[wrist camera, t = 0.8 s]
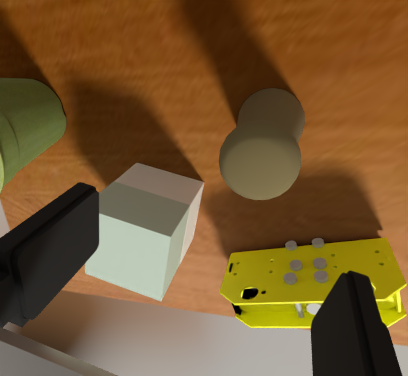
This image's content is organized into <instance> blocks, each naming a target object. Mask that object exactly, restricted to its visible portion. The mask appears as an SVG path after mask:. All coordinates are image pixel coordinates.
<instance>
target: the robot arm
mask: <svg viewBox="0 0 408 376" xmlns="http://www.w3.org/2000/svg"><path fill="white" fill-rule="evenodd" d="M98 246H99V193H98V192H97V191H96V188H95V187H94V186H91V185H88V184H85V183H82V182H79V183H77V184H76V185H75V186H73V187H72V188H70V189H69V190H68V191H66V192H65V193H63V194H62V195H60V196H59V197H58V198H56V199H55V200H53V201H52V202H51V203H49V204H48V205H46V206H45V207H43V208H42V209H41V210H39V211H38V212H36V213H35V214H34V215H32V216H31V217H29V218H28V219H27V220H25V221H24V222H22V223H21V224H19V225H18V226H17V227H15V228H14V229H12V230H11V231H10V232H8V233H7V234H5V235H4V236H3V237H1V238H0V376H117V375H115V374H112V373H110V372H108V371H105V370H103V369H101V368H98V367H96V366H94V365H91V364H89V363H86V362H84V361H82V360H79V359H77V358H74V357H72V356H70V355H67V354H65V353H62V352H60V351H58V350H55V349H53V348H50V347H48V346H45V345H43V344H41V343H38V342H36V341H34V340H31V339H28V338H26V337H24V336H21V335H19V334H16V333H13V332H11V331H8V330H6V329H3V327H4V326H5V325H6V324H7V323H8V322H11V323H14V324H16V325H18V326H21V327H23V326H24V325H25V324H26V323H27V322H28V321H29V319H31V320H32V319H34V318H36V317H37V316H38V315H39V314H40V313H41V311H42V310H43V309H44V308H45V307H46V306H47V305H48V304H49V303H50V301H51V300H52V299H53V298H54V297H55V296H56V295H57V294H58V293H59V292H60V290H61V289H62V288H63V287H64V286H65V285H66V284H67V283H68V282H69V280H70V279H71V278H72V277H73V276H74V275H75V274H76V273H77V272H78V270H79V269H80V268H81V267H82V266H83V265H84V264H85V263H86V262H87V260H88V259H89V258H90V257H91V256H92V255H93V254H94V253H95V251H96V250H97V248H98ZM311 344H312V365H313V376H402V373H401V370H400V367H399V363H398V360H397V357H396V353H395V350H394V347H393V344H392V340H391V337H390V334H389V331H388V328H387V326H386V325H385V324H384V323H383V322H382V319H381V316H380V313H379V309H378V306H377V302H376V299H375V295H374V292H373V289H372V285H371V282H370V279H369V277H368V276H366V275H363V274H360V273H357V272H354V271H348V272H347V273H341V275H340V276H339V278H338V279H337V281H336V283H335V284H334V286H333V287H332V289H331V291H330V292H329V294H328V296H327V297H326V299H325V300H324V302H323V304H322V305H321V307H320V308H319V310H318V312H317V313H316V315H315V317H314V318H313V320H312V324H311Z"/></svg>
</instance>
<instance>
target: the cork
mask: <svg viewBox="0 0 408 376" xmlns="http://www.w3.org/2000/svg"><path fill="white" fill-rule="evenodd" d="M304 125H305V115H304V111H303V108H302V106H301V103H300V102H299V101H298V100H297V99H296V97H295V96H294V95H292V94H291V93H289V92H287V91H285V90H283V89H277V88H268V89H261V90H259V91H258V92H256V93H254V94H252V95H251V96H250V97H249V98H248V99H247V100H246V101H244V103H243V105H242V107H241V109H240V111H239V115H238V121H237V127H236V128H235V129H234V130H233V131H232V132H231V133H230V134H229V135H228V136H227V137H226V139H225V141H224V143H223V145H222V147H221V149H220V156H219V166H220V171H221V175H222V177H223V179H224V180H225V182H226V184H227V185H228V186H229V187H230V188H231V189H232V190H233V191H234V192H236V193H238V194H239V195H241V196H243V197H245V198H249V199H253V200H268V199H271V198H274V197H277V196H280V195H281V194H283V193H284V192H285V191H287V190H288V189H289V188H290V187H291V185H292V184H293V183H294V181H295V180H296V179H297V177H298V174H299V171H300V168H301V153H300V148H299V146H298V142H299V139H300V137H301V134H302V132H303V128H304Z"/></svg>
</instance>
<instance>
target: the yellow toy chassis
mask: <svg viewBox="0 0 408 376" xmlns="http://www.w3.org/2000/svg"><path fill="white" fill-rule="evenodd" d="M285 246H286V248H276V249H266V250H256V251H246V252H236V253H231V255H230V258H229V262H228V265H227V268H226V272H225V275H224V279H223V282H222V285H221V289H220V294H221V295H223V296H224V297H225V298H226V299H228V300H229V301H230V302H231V303H232V305H233V308H234V310H235V313H236V314H235V317H236V318H237V319H239V320H240V321H242V322H243V323H244V324H246V325H247V326H249V327H250V328H311V324H312V320H313V318H314V317H315V315H316V313H317V312H318V310H319V308H320V307H321V305H322V304H323V302H324V300H325V299H326V297H327V296H328V294H329V292H330V291H331V289H332V287H333V286H334V284H335V283H336V281H337V279H338V278H339V276H340V275H341V273H347V272H348V271H354V272H357V273H360V274H363V275H366V276H368V277H369V279H370V282H371V285H372V289H373V292H374V295H375V299H376V302H377V306H378V309H379V313H380V316H381V319H382V322H383V323H384V324H385V325H386V326H387V328H388V327H389V326H391V325H393V324H394V323H396V322H397V321H399V320H400V319H402V318H404V317H405V316H406V312H405V309H404V307H403V304H402V301H401V299H400V291H399V290H401V289H402V288H404V287H405V286H406V282H405V279H404V277H403V275H402V272H401V270H400V268H399V265H398V263H397V261H396V258H395V256H394V254H393V251H392V249H391V247H390V244H389V242H388V240H387V238H377V239H367V240H357V241H347V242H337V243H327V244H324V241H323V239H321V238H315V239H313V240H312V245H307V246H297V244H296V242H295V241H288V242H287V243H286V244H285Z"/></svg>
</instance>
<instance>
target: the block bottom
mask: <svg viewBox="0 0 408 376" xmlns="http://www.w3.org/2000/svg"><path fill="white" fill-rule="evenodd" d="M115 182H118V183H121V184H124V185H127V186H131V187H134V188H137V189H140V190H143V191H147V192H150V193H153V194H156V195H159V196H163V197H166V198H169V199H172V200H175V201H179V202H182V203H185V204H188V205H190V209H189V215H188V220H187V226H186V231H185V236H184V242H183V247H182V253H181V258H180V263H181V261H182V259H183V257H184V255H185V253H186V251H187V249H188V247H189V245H190V243H191V241H192V239H193V236H194V231H195V226H196V221H197V216H198V211H199V206H200V201H201V196H202V191H203V186H204V182H202V181H198V180H195V179H192V178H188V177H185V176H181V175H178V174H174V173H171V172H168V171H164V170H161V169H157V168H154V167H150V166H147V165H144V164H140V163H136V164H134V165H133V166H132V167H131V168H130V169H128V170H127V171H126V172H125V173H124V174H122V175H121V176H120V177H119V178H118V179H116V180H115ZM179 265H180V264H179Z"/></svg>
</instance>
